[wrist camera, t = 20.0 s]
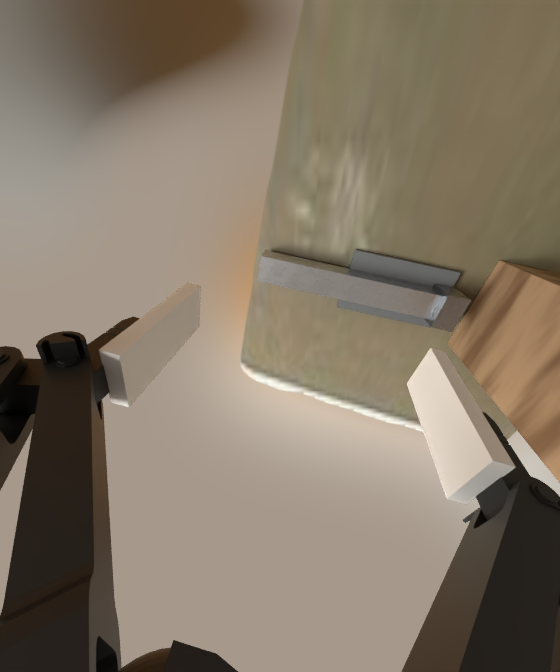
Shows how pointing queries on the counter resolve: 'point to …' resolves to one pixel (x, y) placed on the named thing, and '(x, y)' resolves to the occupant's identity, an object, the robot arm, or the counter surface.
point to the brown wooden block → (518, 352)
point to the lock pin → (366, 288)
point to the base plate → (400, 271)
